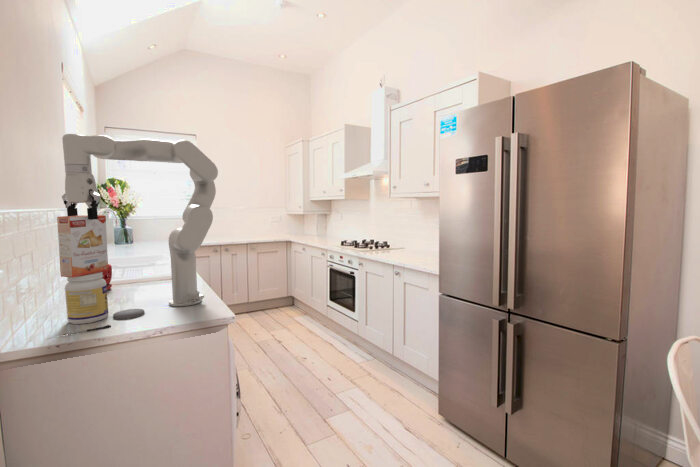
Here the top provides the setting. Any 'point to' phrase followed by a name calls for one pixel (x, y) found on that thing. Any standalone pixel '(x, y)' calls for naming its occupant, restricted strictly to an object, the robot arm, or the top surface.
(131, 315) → the coaster
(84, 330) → the chef's knife
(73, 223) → the cracker box
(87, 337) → the top surface
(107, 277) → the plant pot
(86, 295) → the supplement tub
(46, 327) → the top surface
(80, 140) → the robot arm
